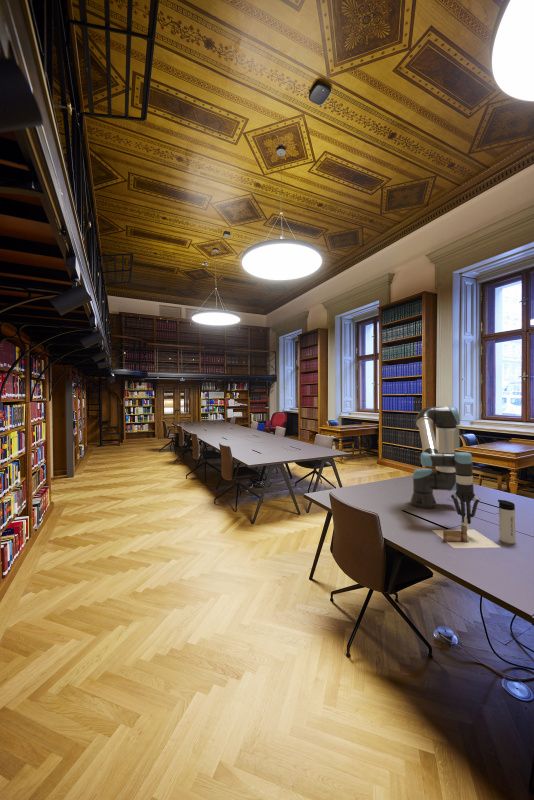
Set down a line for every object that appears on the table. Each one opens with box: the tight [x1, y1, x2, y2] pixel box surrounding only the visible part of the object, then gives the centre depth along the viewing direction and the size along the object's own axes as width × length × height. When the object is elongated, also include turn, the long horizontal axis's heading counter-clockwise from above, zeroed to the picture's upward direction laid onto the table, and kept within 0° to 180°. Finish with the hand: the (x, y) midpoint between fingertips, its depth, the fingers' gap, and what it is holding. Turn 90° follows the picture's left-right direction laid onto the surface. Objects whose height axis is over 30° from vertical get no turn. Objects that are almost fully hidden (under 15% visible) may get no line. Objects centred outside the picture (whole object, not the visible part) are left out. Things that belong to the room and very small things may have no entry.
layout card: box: [431, 528, 501, 549], centre depth 158 cm, size 20×22×1 cm
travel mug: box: [497, 499, 517, 545], centre depth 154 cm, size 6×7×20 cm
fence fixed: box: [442, 525, 467, 542], centre depth 155 cm, size 2×11×7 cm, turn 89°
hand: (466, 529), depth 162 cm, fingers closed
